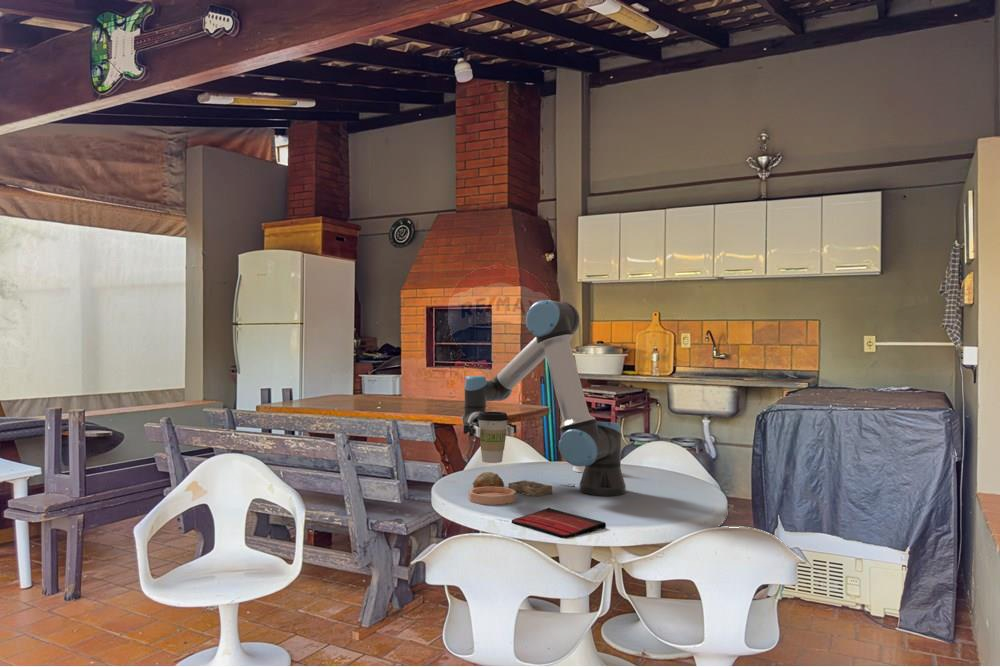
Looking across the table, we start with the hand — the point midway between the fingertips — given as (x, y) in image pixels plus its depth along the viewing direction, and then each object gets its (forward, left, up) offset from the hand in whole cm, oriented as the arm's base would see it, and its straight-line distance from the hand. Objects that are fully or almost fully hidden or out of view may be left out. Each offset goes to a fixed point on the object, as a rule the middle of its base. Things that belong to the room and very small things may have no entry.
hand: (495, 432), depth 211 cm
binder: (-30, +6, -22) cm, 38 cm away
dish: (+4, -2, -21) cm, 22 cm away
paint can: (+17, -62, -21) cm, 68 cm away
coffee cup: (+4, -2, -10) cm, 11 cm away
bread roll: (+14, -10, -22) cm, 28 cm away
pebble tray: (+4, -19, -21) cm, 29 cm away
